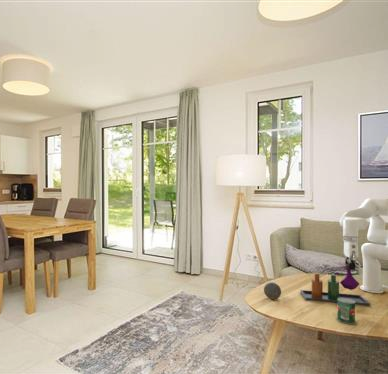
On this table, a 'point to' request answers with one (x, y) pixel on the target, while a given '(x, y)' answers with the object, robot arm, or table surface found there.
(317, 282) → the amber bottle
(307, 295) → the tray
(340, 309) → the canned tomato
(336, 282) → the green bottle
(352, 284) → the perfume bottle
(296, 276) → the table surface
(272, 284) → the decorative ball
